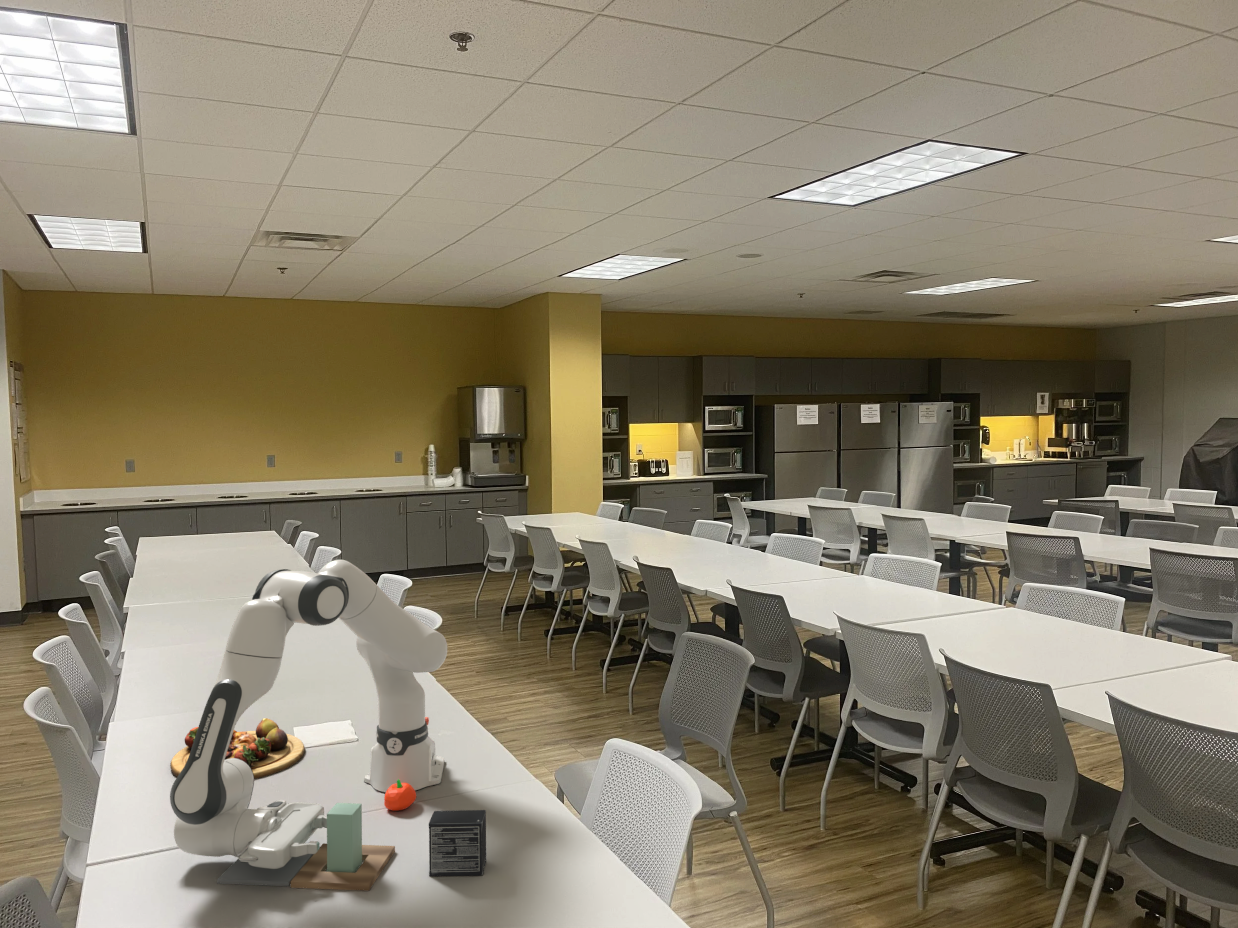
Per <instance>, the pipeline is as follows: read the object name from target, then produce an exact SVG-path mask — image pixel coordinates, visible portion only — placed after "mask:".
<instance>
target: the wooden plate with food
mask: <svg viewBox="0 0 1238 928" xmlns="http://www.w3.org/2000/svg"><path fill="white" fill-rule="evenodd" d="M198 727H199V726H196V727H192V728H191V729H190V730H189V732H188V733H187V734H186V736H185V738H184V745H186V746H185V747H183V748H182V749H180V750H179V751H178V752H176V754H175V755H174V756H173V757H172V758H171V761H170V765H169V767H170V771H171V772H172V774H173V775H174V776H175V777H176V778H177V777H178V775H179V774H180V772H181V771H182V769H183V768H184V766H185V764H186V762H187V760H188V757H189V754H190V751H191V748H192V745H193V742H194V739H195V736H196V733H197V730H198ZM305 750H306V749H305V744H304V743H303V741H302V740H301V739H300V738H298V737H297V736H295V735H293V734H291V733H290V734H289V733H286V732H285V731H284V730H283V729H281V728H280V727H279V725H278V724H277V722H275V721H274V720H272V719H270V718H265V717H264V718H262V719H261V720H260V721H259V723H258V725H257V726H256V729H255V730H248V731H247V730H246V731H236V730H235V729H234V731H233V734H232V737H231V740H230V744H229V747H228V750H227V753H226V757H225V760H226V759H230V758H237V759H241V760H243V761H244V762H246V763H247V764H248V765H249V766H250V768H251V769H252V771H253V774H254V780H255V779H259V778H263V777H268V776H271V775H274V774H276V773H279V772H282V771H284V770H286V769H288V768H290V767H292V766H294V765H295V764H297V762H299V761H300V760H301V759H302V758H303V756H304V754H305Z"/></svg>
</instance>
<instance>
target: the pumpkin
mask: <svg viewBox="0 0 1238 928" xmlns="http://www.w3.org/2000/svg"><path fill="white" fill-rule="evenodd" d="M383 798H384V799H383V800H384V802H383V803H384V808H386V809H387V810H390V811H394V812H395V811H402V810H403V811H404V810H405V809H408V808H409V807H410V806H411V805H412V804H414V802H415V801H416V798H417V792H416V790H414V789H413V787H412V786H411V785H410V784H408V783H401V782H400V780H399V779H398V780H397V783H396V784H392V785H391V786H390V787H389V788H388V789H387V791H386V792H384V797H383Z"/></svg>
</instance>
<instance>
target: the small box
mask: <svg viewBox="0 0 1238 928" xmlns="http://www.w3.org/2000/svg"><path fill="white" fill-rule="evenodd" d="M428 834H429V835H428V843H429V844H428V849H429V850H428V851H429V854H428V857H429V861H428V863H429V871H428V876H429V877H465V876H466V877H468V876H470V877H471V876H477V877H478V876H483V875H484V873H485V868H486V865H487V810H486V809H469V810H468V809H467V810H464V809H463V810H462V809H461V810H434V811H433V812H432V815H431V817H430V819H429V822H428Z"/></svg>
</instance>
